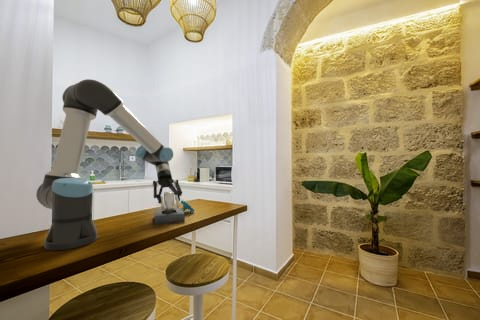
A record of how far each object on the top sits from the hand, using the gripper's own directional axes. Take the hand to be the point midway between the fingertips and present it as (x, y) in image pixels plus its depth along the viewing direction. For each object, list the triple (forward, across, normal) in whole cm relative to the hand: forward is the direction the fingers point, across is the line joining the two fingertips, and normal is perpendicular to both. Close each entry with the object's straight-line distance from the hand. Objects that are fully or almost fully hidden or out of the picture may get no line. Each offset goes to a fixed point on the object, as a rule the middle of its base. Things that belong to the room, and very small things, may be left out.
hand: (170, 207), depth 104 cm
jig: (+2, 0, -7) cm, 8 cm away
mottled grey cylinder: (+2, 0, -8) cm, 8 cm away
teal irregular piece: (-4, -13, -15) cm, 20 cm away
